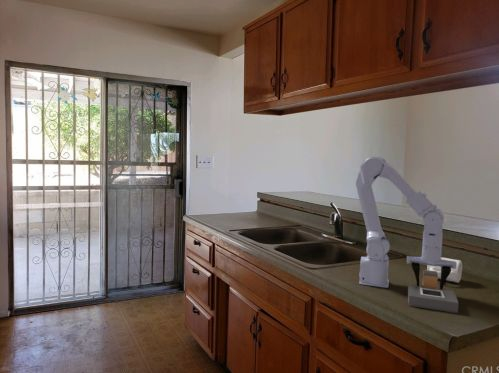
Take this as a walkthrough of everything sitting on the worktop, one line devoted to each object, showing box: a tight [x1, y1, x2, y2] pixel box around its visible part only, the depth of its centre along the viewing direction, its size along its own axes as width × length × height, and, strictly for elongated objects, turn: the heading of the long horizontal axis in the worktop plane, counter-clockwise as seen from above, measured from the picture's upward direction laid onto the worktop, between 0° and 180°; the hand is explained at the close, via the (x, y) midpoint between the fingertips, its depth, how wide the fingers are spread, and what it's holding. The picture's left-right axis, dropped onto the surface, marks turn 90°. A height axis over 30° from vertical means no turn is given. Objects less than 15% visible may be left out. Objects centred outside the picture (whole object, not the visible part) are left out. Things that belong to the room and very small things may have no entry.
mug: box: [426, 256, 463, 284], centre depth 138 cm, size 12×10×8 cm
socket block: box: [407, 284, 459, 314], centre depth 116 cm, size 13×11×3 cm
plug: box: [422, 269, 438, 289], centre depth 125 cm, size 4×4×7 cm
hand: (429, 287), depth 125 cm, fingers open, 6 cm apart
